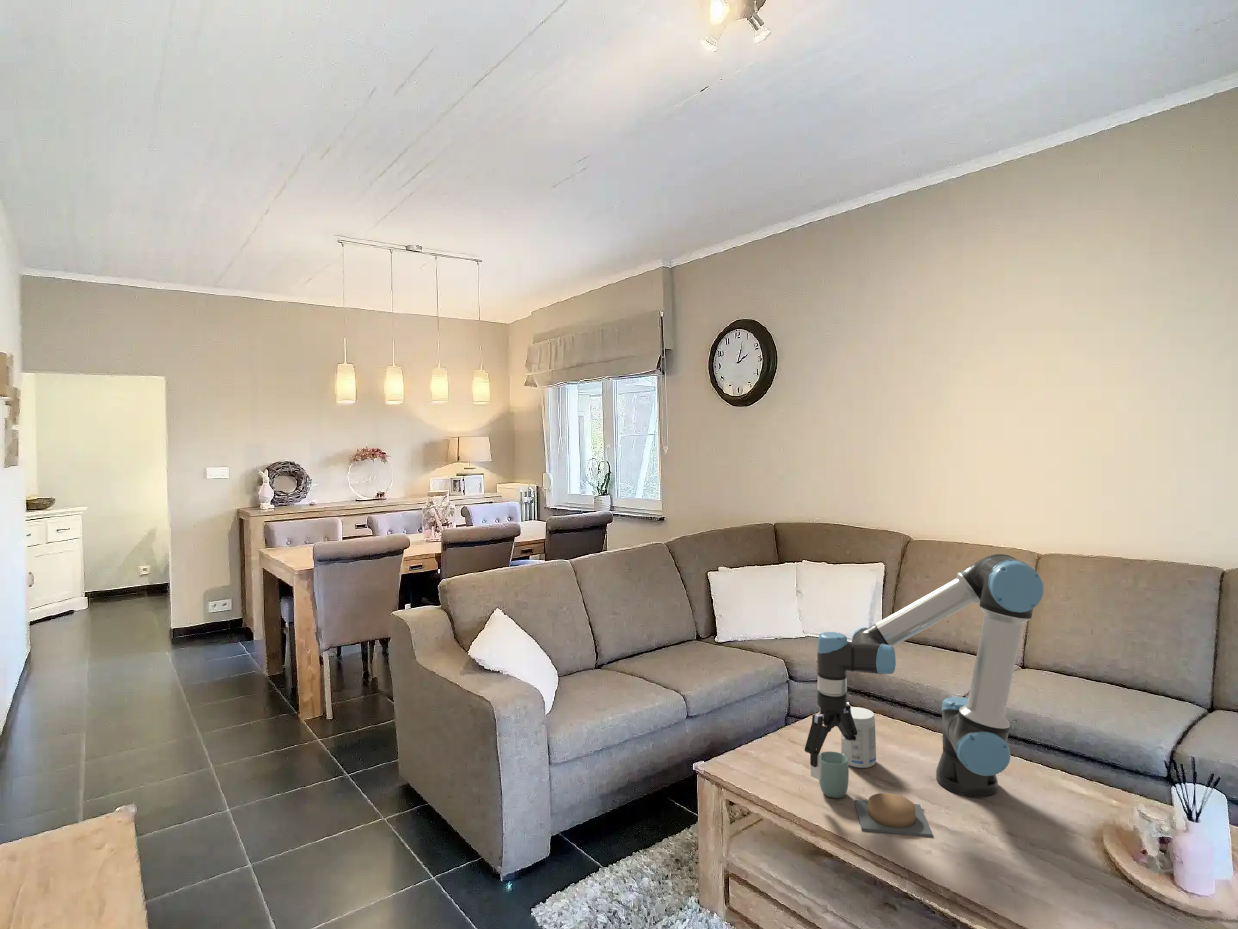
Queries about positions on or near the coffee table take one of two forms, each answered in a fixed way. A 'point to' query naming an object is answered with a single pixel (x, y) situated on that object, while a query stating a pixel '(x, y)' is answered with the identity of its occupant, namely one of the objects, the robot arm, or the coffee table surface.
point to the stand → (892, 815)
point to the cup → (834, 774)
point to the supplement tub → (863, 738)
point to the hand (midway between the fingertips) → (831, 770)
